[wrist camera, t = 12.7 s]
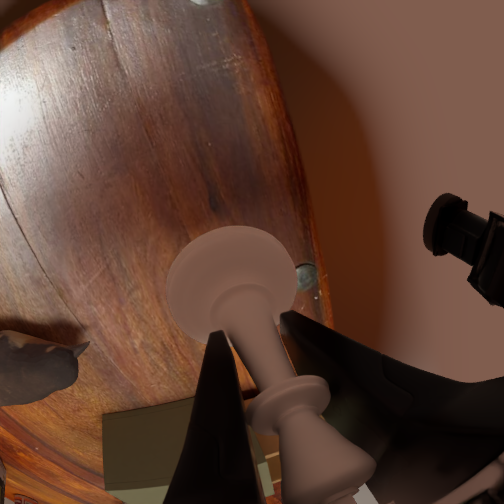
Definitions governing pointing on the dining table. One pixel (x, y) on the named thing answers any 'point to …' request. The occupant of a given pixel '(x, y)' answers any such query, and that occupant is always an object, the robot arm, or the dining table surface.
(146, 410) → the cabinet
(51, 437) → the dining table surface
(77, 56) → the dining table surface
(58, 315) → the dining table surface
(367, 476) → the chess piece
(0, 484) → the tea box
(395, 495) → the robot arm
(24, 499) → the pill bottle
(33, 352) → the decorative bird
